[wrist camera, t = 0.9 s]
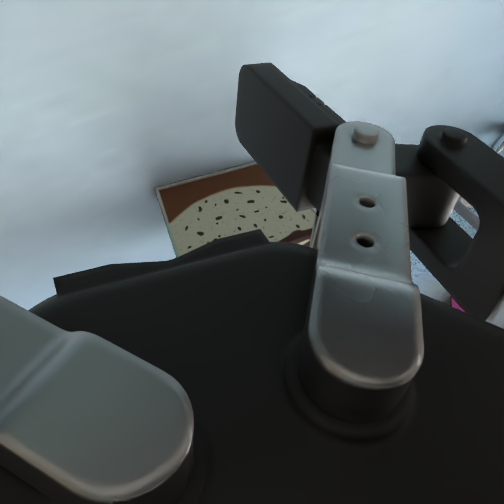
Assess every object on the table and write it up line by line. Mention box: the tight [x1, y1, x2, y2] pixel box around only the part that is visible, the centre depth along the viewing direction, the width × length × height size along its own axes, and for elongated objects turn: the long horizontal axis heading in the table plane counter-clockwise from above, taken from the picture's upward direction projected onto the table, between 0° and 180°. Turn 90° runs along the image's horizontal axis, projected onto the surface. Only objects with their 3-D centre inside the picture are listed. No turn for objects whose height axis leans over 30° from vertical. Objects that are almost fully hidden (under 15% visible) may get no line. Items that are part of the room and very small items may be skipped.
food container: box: [155, 162, 316, 258], centre depth 37 cm, size 12×6×10 cm, turn 89°
